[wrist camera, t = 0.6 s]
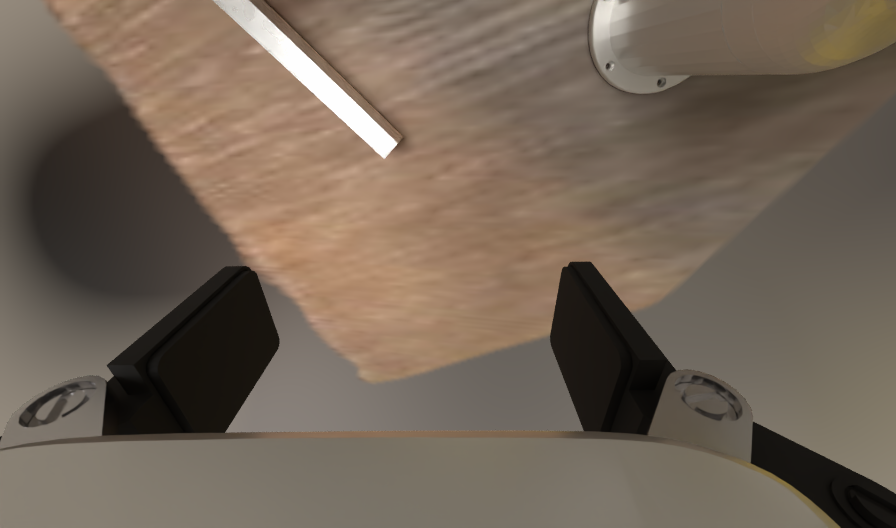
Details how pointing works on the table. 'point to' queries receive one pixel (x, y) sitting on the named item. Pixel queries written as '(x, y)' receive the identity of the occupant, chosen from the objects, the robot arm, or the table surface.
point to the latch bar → (313, 71)
